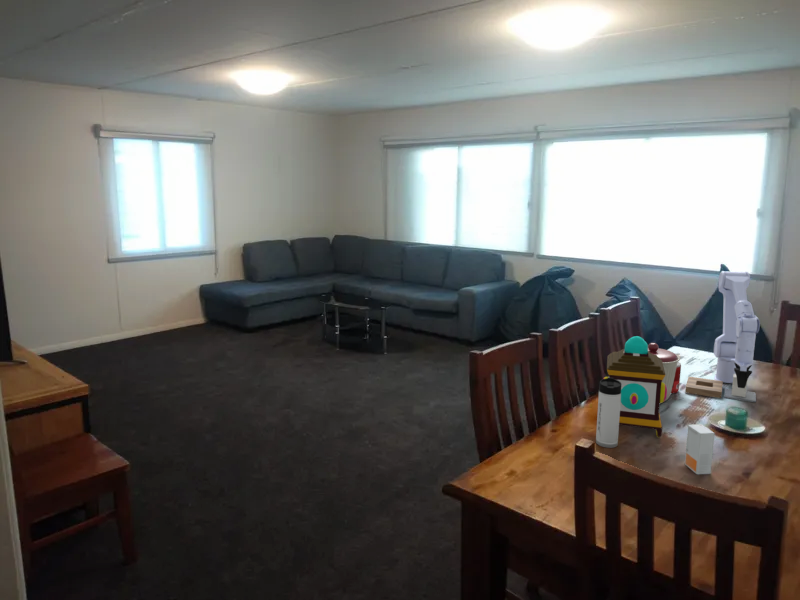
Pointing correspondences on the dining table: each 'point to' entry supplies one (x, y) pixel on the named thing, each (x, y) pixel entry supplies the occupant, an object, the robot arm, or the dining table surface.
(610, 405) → the travel mug
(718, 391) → the pocket board
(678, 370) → the canned food
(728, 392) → the coaster
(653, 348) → the canister
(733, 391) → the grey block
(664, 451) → the dining table surface
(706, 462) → the skincare box
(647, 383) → the decorative lantern
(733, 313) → the robot arm
